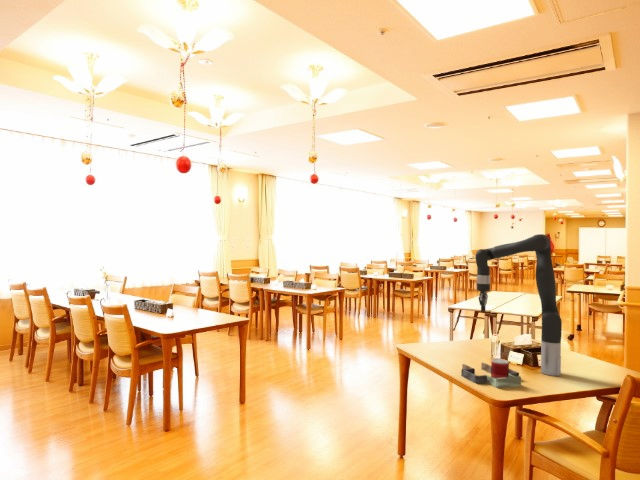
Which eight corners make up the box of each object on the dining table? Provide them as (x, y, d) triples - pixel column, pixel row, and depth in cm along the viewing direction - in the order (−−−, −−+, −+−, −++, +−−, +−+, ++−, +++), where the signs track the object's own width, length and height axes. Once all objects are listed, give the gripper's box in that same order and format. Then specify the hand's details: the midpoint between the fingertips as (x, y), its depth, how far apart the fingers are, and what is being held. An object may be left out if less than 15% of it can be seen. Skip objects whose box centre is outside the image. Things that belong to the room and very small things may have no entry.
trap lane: (452, 371, 228) (452, 363, 228) (492, 368, 235) (492, 359, 235) (487, 389, 201) (487, 380, 201) (530, 385, 208) (530, 375, 208)
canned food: (510, 385, 207) (511, 363, 207) (494, 384, 208) (494, 362, 208) (505, 380, 215) (505, 358, 215) (489, 379, 215) (489, 358, 215)
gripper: (487, 284, 243) (487, 314, 243) (492, 282, 254) (492, 311, 254) (474, 283, 247) (473, 312, 247) (479, 281, 258) (479, 309, 258)
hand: (483, 311), depth 251 cm, fingers closed
